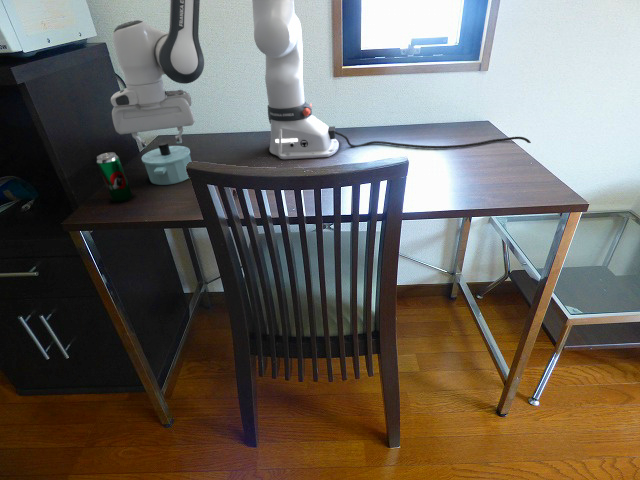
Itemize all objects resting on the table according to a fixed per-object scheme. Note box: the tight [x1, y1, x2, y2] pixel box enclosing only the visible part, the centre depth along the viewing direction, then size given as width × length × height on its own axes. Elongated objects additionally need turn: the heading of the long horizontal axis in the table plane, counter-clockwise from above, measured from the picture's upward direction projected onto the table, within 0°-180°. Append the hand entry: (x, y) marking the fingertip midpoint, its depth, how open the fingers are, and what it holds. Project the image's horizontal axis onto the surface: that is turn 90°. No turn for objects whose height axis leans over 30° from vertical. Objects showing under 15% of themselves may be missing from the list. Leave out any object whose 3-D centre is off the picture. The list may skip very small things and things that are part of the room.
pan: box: [143, 154, 193, 186], centre depth 111 cm, size 12×18×6 cm
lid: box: [141, 141, 191, 165], centre depth 108 cm, size 13×13×4 cm
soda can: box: [96, 151, 133, 203], centre depth 98 cm, size 5×5×12 cm
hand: (162, 144), depth 107 cm, fingers open, 8 cm apart
